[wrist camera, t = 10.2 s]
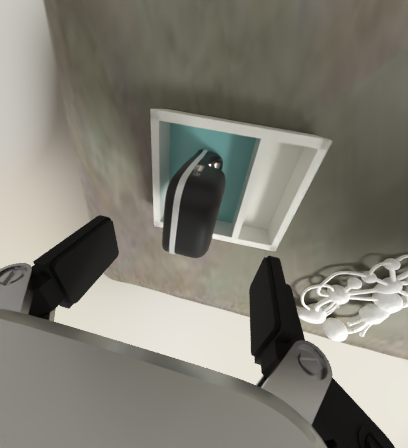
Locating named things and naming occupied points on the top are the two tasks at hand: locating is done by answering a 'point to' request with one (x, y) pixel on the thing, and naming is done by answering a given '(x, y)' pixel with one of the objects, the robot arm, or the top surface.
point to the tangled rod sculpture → (369, 314)
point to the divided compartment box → (239, 171)
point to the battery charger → (193, 205)
